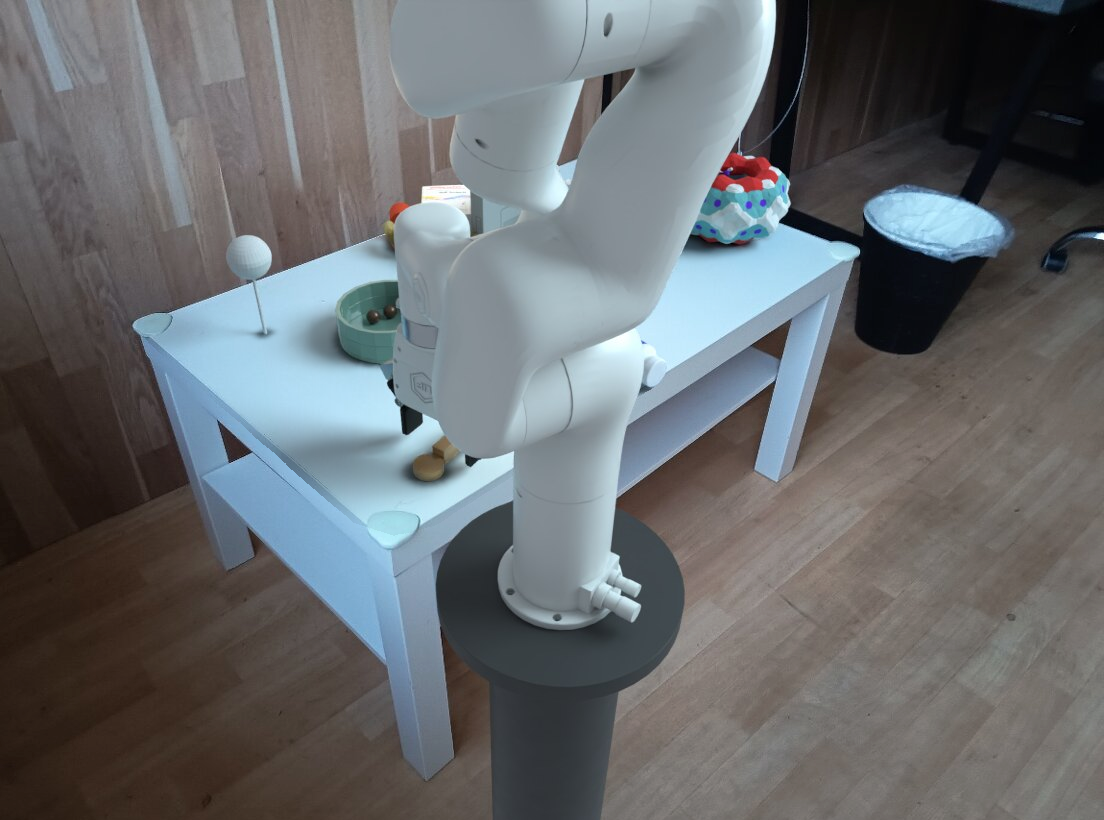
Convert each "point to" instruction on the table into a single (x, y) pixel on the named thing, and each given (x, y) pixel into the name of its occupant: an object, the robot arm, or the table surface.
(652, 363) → the pill bottle
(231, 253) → the lollipop
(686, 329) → the table surface
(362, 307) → the bowl
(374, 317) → the bead
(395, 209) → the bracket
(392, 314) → the bead
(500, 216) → the cassette player
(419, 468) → the spoon
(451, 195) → the ink box
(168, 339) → the table surface
